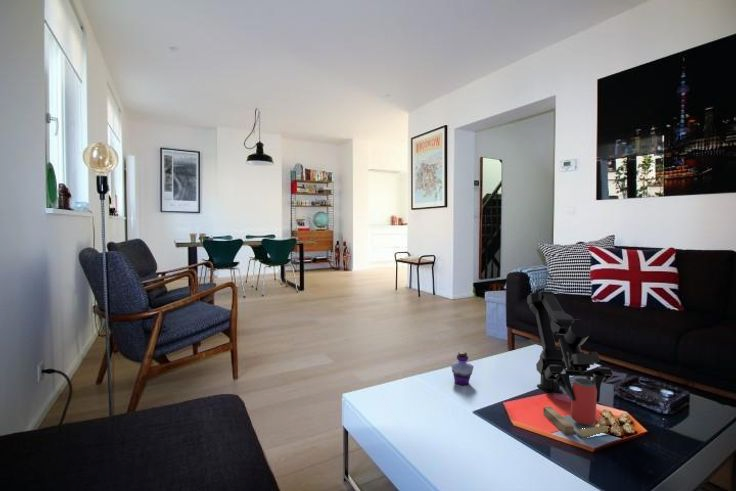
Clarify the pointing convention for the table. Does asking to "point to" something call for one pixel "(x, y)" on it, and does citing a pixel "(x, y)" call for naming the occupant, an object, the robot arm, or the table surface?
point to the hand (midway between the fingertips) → (586, 401)
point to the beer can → (584, 401)
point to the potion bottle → (462, 369)
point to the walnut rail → (558, 420)
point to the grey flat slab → (588, 430)
